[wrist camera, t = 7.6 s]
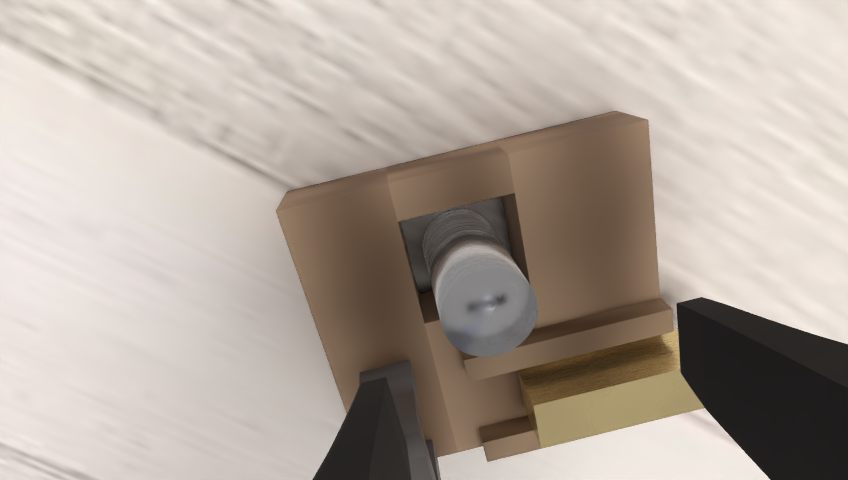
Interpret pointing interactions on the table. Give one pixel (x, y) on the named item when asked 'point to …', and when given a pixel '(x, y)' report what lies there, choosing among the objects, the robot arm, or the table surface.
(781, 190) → the table surface
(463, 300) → the cylinder
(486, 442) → the dock
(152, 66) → the table surface
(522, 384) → the lock pin
